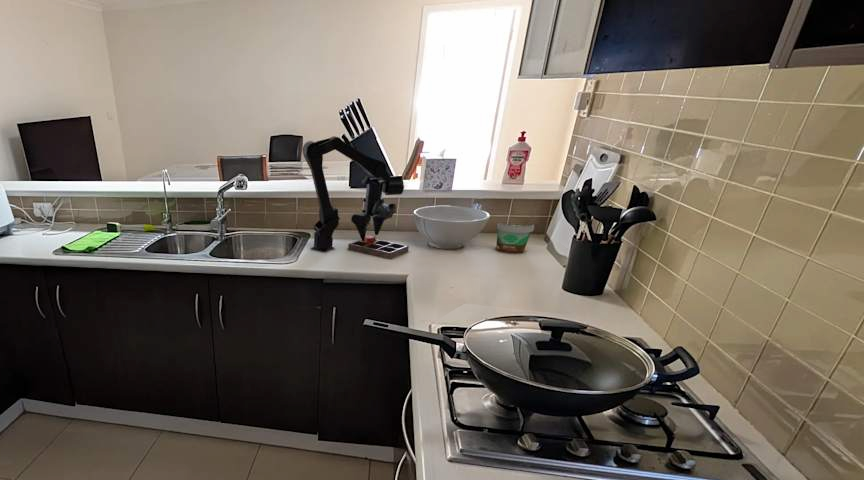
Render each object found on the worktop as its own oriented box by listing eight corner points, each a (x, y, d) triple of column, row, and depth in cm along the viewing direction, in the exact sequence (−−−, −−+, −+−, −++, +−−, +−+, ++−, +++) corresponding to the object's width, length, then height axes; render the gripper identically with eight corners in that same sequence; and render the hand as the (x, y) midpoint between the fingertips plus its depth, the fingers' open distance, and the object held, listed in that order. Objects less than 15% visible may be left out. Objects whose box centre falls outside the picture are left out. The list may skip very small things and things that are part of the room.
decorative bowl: (398, 247, 194) (401, 215, 188) (425, 232, 211) (430, 203, 205) (468, 259, 178) (475, 225, 172) (492, 242, 196) (499, 210, 190)
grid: (347, 249, 193) (348, 243, 191) (366, 242, 200) (367, 237, 199) (389, 259, 181) (390, 253, 179) (408, 251, 188) (408, 245, 187)
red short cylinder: (362, 244, 196) (362, 237, 194) (367, 242, 198) (368, 234, 196) (370, 246, 193) (371, 238, 192) (376, 244, 195) (377, 236, 194)
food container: (492, 253, 183) (498, 225, 179) (491, 248, 188) (497, 221, 184) (529, 255, 179) (536, 227, 174) (528, 251, 184) (535, 223, 179)
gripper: (378, 202, 176) (373, 246, 183) (406, 194, 187) (401, 236, 194) (352, 198, 183) (348, 240, 191) (380, 191, 194) (376, 231, 202)
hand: (369, 237), depth 194 cm, fingers open, 9 cm apart
